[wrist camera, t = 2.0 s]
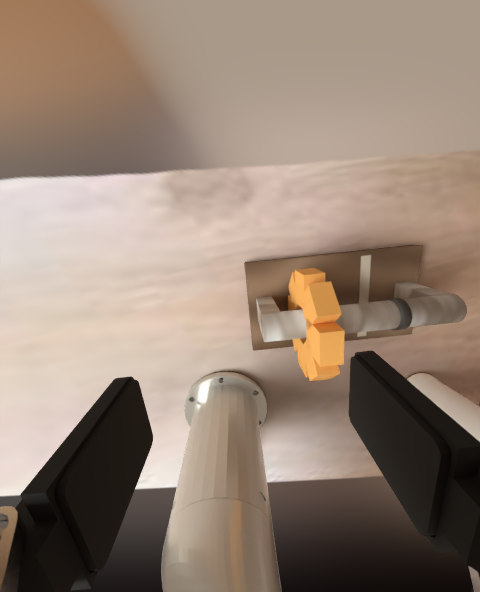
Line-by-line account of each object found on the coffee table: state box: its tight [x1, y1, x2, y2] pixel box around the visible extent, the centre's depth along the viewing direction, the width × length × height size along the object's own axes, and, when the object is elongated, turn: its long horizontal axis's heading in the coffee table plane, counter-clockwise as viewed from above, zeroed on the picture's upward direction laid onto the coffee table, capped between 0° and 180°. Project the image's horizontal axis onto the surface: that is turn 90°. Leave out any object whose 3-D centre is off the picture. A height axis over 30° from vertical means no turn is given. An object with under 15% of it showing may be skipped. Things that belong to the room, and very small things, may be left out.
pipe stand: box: [245, 245, 467, 350], centre depth 26 cm, size 12×22×9 cm, turn 96°
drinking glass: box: [407, 373, 480, 442], centre depth 28 cm, size 7×7×15 cm
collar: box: [288, 268, 345, 381], centre depth 24 cm, size 11×2×11 cm, turn 6°
